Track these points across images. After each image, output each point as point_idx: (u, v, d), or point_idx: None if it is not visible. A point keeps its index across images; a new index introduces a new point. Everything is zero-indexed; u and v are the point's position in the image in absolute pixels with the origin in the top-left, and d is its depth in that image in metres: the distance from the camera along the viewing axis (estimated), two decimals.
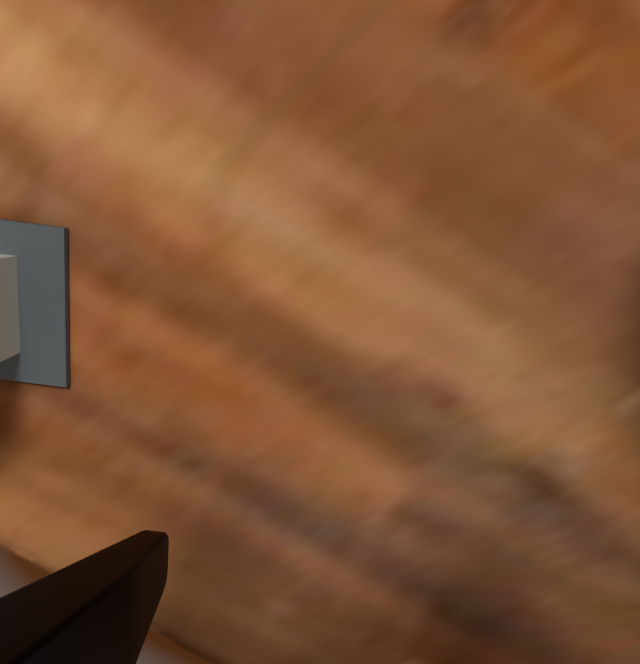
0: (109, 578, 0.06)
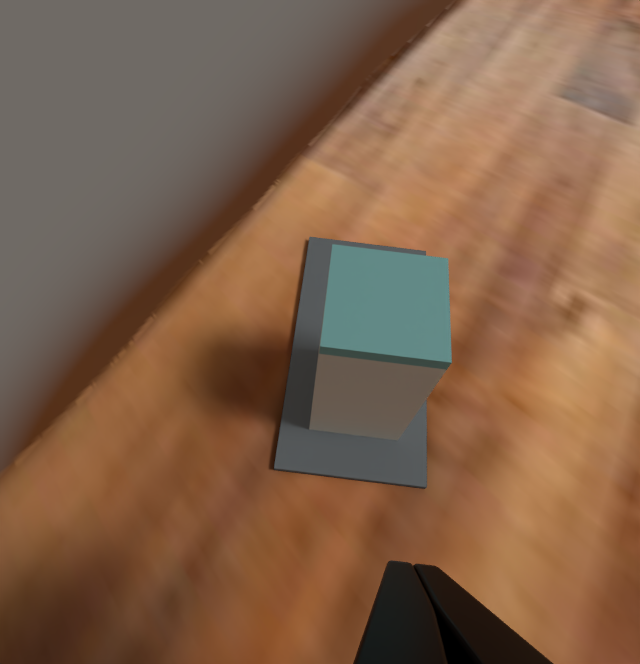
0: (427, 617, 0.06)
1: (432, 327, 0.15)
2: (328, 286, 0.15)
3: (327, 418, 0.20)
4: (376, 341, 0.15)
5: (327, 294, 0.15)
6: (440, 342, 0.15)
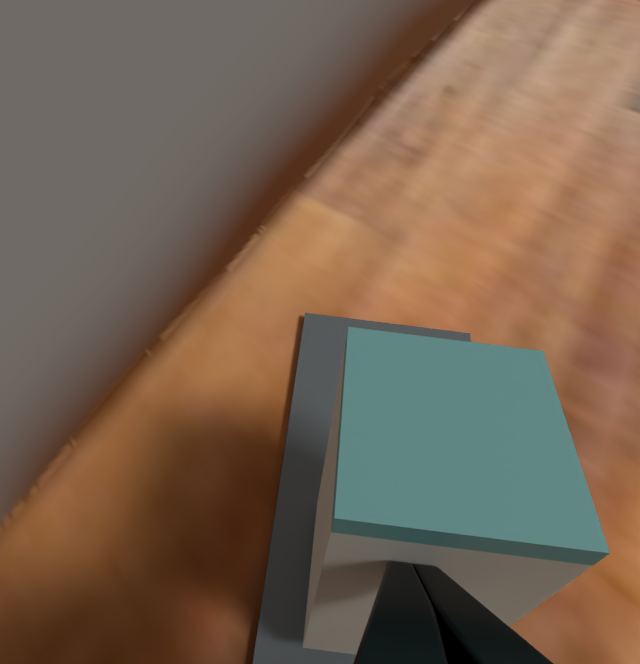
0: (426, 617, 0.06)
1: (550, 476, 0.08)
2: (345, 396, 0.08)
3: (336, 634, 0.11)
4: (448, 506, 0.07)
5: (344, 411, 0.08)
6: (574, 507, 0.07)
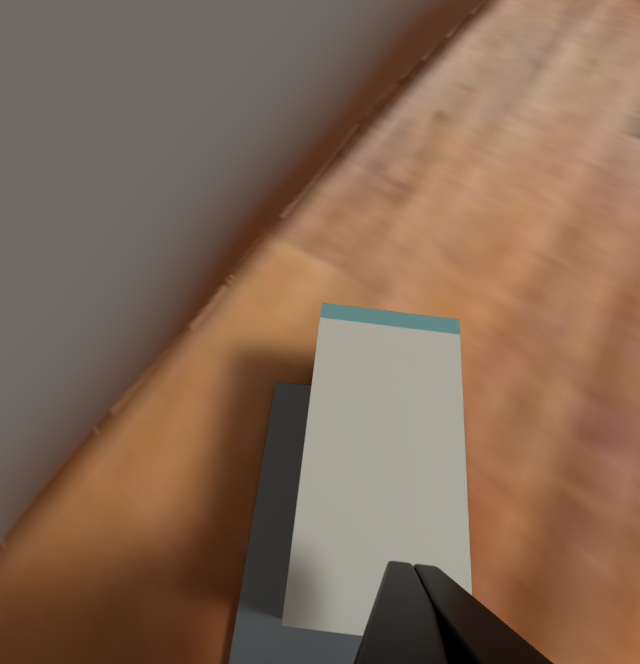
0: (427, 617, 0.06)
1: None
2: None
3: (324, 537, 0.11)
4: None
5: None
6: None
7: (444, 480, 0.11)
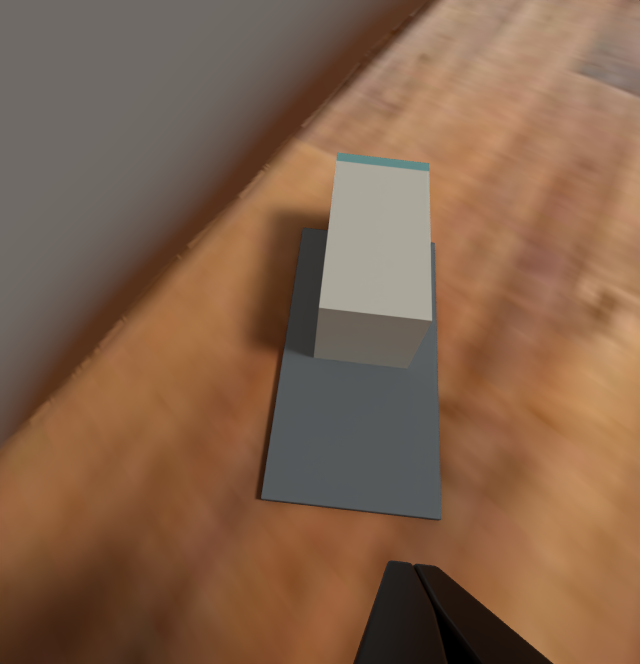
0: (427, 617, 0.06)
1: None
2: None
3: (343, 269, 0.18)
4: None
5: None
6: None
7: (416, 244, 0.18)
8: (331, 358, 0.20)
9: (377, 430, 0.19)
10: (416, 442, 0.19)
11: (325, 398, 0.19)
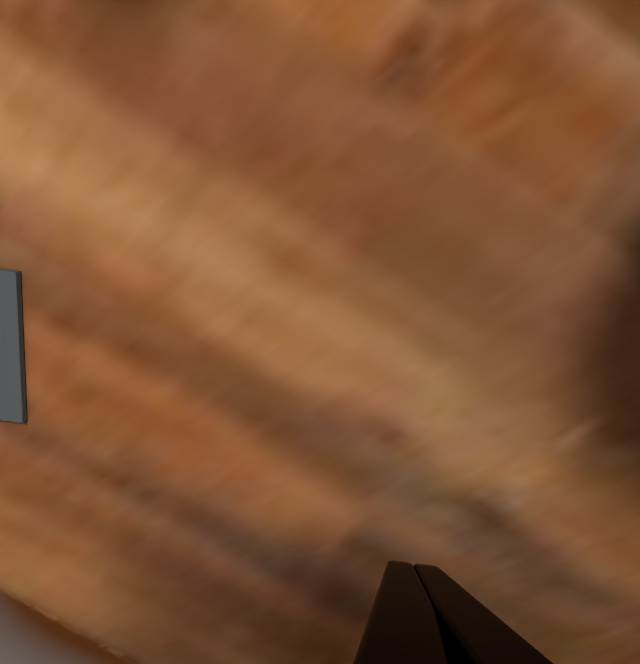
0: (427, 617, 0.06)
1: None
2: None
3: None
4: None
5: None
6: None
7: None
8: None
9: None
10: None
11: None
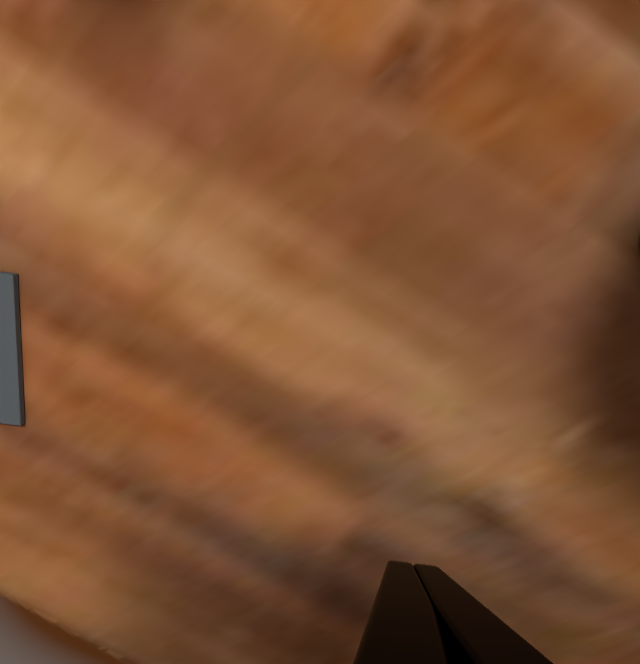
0: (427, 617, 0.06)
1: None
2: None
3: None
4: None
5: None
6: None
7: None
8: None
9: None
10: None
11: None
